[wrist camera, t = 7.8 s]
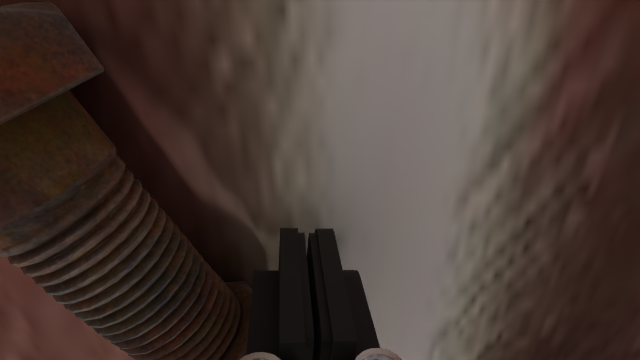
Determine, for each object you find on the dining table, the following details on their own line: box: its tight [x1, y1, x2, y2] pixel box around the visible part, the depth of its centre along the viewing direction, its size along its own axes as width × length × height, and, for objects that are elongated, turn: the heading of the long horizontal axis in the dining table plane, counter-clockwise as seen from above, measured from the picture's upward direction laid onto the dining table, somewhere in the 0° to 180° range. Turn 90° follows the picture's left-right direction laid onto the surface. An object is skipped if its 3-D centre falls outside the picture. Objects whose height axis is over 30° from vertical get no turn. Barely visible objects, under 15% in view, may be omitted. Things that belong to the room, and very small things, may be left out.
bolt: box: [0, 2, 252, 360], centre depth 10 cm, size 6×5×15 cm
